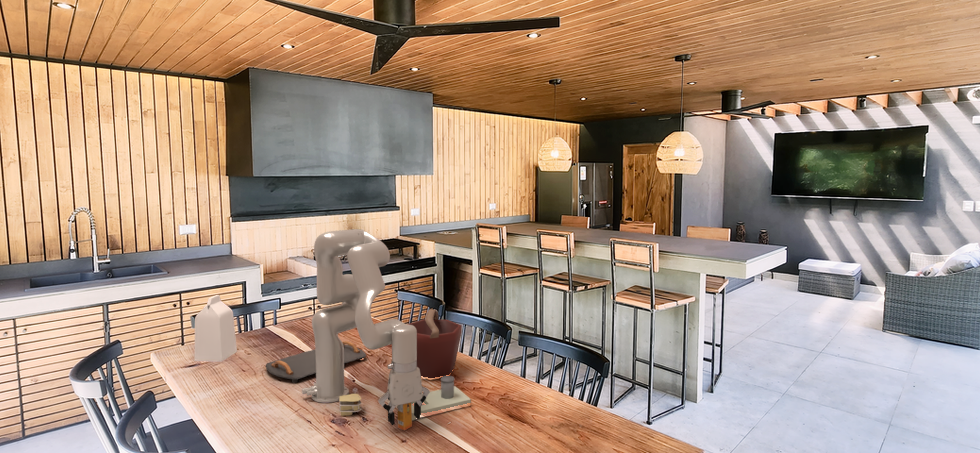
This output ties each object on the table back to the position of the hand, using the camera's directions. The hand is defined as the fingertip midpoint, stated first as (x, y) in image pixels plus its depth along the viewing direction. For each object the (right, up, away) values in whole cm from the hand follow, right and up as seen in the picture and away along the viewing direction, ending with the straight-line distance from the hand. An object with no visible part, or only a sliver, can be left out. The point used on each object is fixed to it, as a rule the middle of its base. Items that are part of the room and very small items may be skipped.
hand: (404, 419), depth 155 cm
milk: (-91, +4, +58) cm, 108 cm away
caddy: (+8, -1, +15) cm, 17 cm away
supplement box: (0, -3, 0) cm, 3 cm away
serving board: (-45, +3, +51) cm, 68 cm away
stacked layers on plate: (-19, -2, +9) cm, 22 cm away
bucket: (+3, +2, +45) cm, 45 cm away
